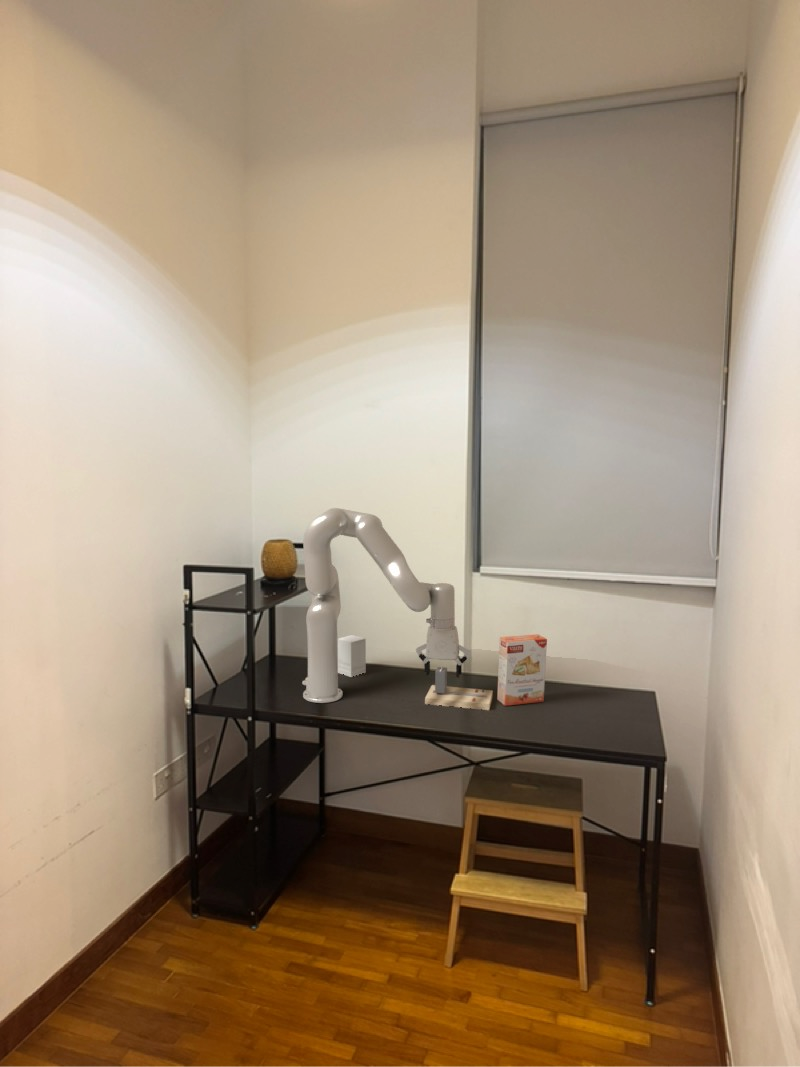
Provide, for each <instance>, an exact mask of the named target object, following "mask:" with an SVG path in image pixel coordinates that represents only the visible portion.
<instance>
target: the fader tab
mask: <svg viewBox="0 0 800 1067" xmlns="http://www.w3.org/2000/svg"><path fill="white" fill-rule="evenodd" d="M434 672H435V673H434V674H435V676H434V677H435V678H434V680H435V681H434V685H435V693H445V691H446V689H447V683H448V680H447V679H448V667H445V666H437V667H436V670H435V671H434Z"/></svg>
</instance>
